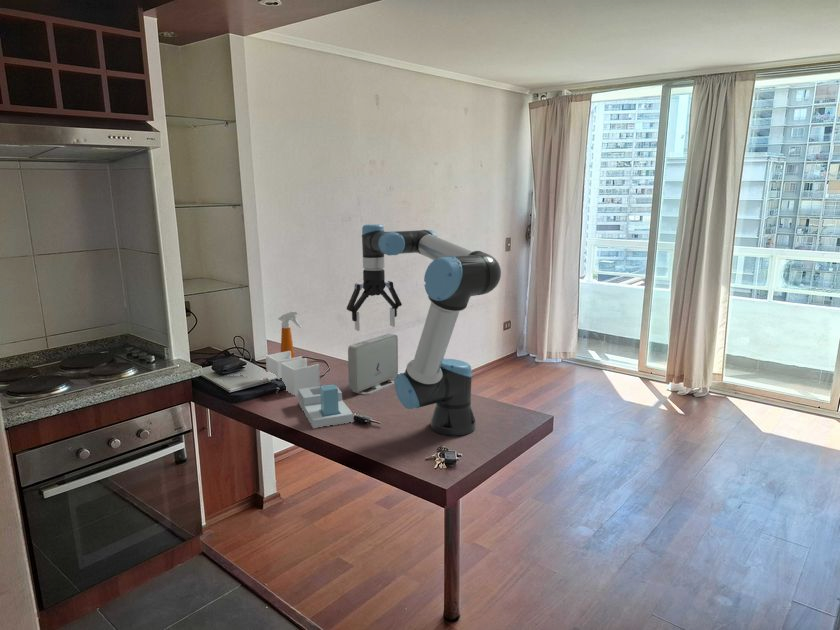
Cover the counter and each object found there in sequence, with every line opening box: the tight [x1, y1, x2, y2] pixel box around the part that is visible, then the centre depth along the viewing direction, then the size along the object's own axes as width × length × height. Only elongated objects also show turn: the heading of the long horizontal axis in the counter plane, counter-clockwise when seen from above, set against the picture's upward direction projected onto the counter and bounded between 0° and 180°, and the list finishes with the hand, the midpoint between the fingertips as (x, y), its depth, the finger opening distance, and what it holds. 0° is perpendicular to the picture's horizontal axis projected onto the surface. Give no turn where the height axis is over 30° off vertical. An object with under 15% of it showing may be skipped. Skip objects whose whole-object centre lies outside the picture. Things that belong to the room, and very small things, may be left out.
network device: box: [347, 333, 399, 396], centre depth 227 cm, size 26×9×20 cm, turn 143°
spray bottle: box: [278, 310, 303, 358], centre depth 251 cm, size 7×11×26 cm, turn 86°
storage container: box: [265, 351, 321, 397], centre depth 231 cm, size 25×11×11 cm, turn 40°
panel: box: [298, 383, 354, 429], centre depth 202 cm, size 24×14×6 cm, turn 23°
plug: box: [320, 384, 339, 417], centre depth 196 cm, size 6×5×12 cm
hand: (375, 328), depth 202 cm, fingers open, 13 cm apart
